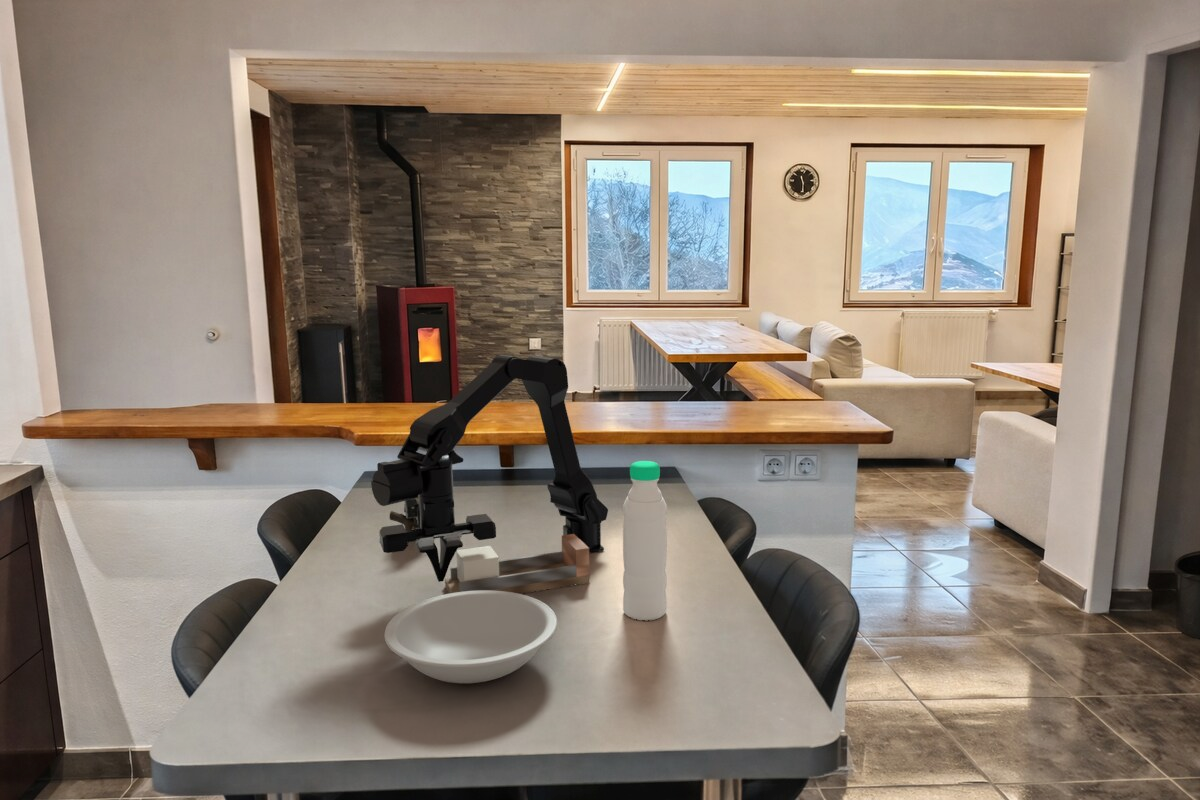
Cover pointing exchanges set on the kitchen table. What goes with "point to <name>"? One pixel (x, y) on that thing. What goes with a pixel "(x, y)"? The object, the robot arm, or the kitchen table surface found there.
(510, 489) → the kitchen table surface
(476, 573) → the block
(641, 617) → the water bottle
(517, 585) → the track
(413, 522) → the bird figurine
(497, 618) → the soup bowl
